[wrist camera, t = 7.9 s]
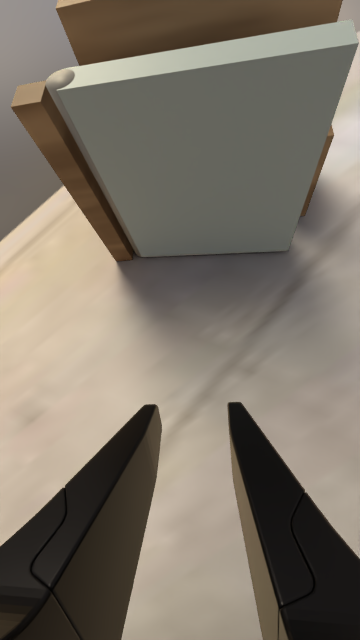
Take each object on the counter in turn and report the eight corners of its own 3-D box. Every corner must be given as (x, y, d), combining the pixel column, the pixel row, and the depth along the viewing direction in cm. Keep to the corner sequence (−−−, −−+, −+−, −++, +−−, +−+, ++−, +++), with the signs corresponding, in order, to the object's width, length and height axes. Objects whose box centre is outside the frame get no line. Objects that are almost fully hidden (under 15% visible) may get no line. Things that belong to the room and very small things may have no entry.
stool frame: (310, 245, 22) (405, 35, 10) (116, 261, 25) (10, 106, 13) (294, 158, 26) (353, -78, 14) (125, 179, 28) (48, -4, 16)
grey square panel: (288, 250, 22) (358, 42, 10) (134, 257, 24) (41, 92, 12) (286, 235, 23) (352, 19, 11) (136, 242, 25) (49, 71, 13)
